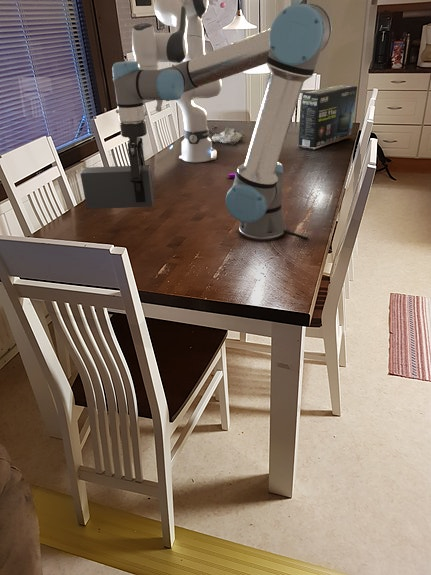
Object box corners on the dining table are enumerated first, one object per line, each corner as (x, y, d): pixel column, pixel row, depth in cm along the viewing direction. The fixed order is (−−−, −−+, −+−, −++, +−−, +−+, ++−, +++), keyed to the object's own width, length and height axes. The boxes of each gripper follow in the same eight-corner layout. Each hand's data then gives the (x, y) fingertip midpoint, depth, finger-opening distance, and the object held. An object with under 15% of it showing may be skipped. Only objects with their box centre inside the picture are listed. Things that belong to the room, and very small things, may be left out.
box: (154, 199, 148) (150, 164, 142) (152, 206, 142) (148, 170, 137) (91, 202, 148) (84, 167, 142) (87, 209, 142) (80, 173, 137)
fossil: (235, 139, 243) (216, 121, 246) (225, 155, 249) (206, 138, 252) (251, 137, 256) (233, 120, 260) (241, 153, 263) (223, 137, 266)
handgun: (227, 177, 201) (227, 172, 200) (244, 175, 202) (244, 170, 201) (238, 192, 183) (238, 187, 182) (257, 189, 184) (257, 185, 183)
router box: (314, 151, 231) (318, 94, 217) (296, 148, 237) (299, 92, 224) (352, 138, 251) (358, 85, 238) (335, 135, 258) (340, 83, 245)
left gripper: (157, 70, 179) (160, 108, 186) (123, 77, 164) (128, 117, 171) (170, 71, 176) (173, 109, 183) (137, 77, 161) (141, 119, 168)
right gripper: (124, 115, 140) (134, 188, 152) (113, 129, 124) (125, 209, 136) (148, 114, 140) (156, 187, 152) (141, 127, 124) (150, 208, 136)
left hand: (151, 113), depth 177 cm, fingers open, 8 cm apart
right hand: (142, 197), depth 144 cm, fingers closed on box, 6 cm apart
